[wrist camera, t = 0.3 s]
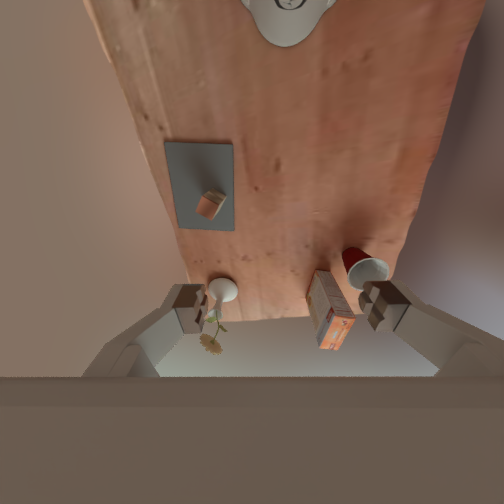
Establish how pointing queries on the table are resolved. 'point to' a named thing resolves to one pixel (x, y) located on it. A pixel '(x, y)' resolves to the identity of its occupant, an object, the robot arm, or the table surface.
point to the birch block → (210, 204)
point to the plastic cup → (363, 268)
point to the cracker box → (328, 310)
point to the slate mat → (201, 182)
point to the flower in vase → (218, 309)
